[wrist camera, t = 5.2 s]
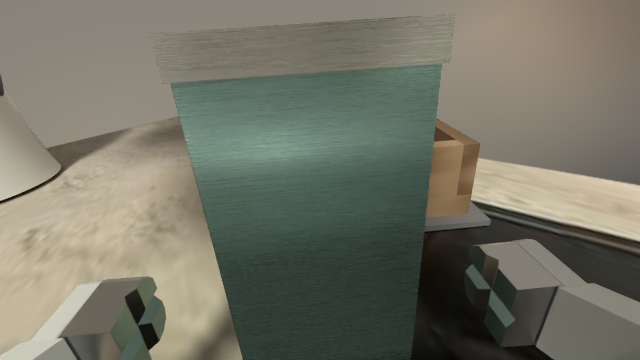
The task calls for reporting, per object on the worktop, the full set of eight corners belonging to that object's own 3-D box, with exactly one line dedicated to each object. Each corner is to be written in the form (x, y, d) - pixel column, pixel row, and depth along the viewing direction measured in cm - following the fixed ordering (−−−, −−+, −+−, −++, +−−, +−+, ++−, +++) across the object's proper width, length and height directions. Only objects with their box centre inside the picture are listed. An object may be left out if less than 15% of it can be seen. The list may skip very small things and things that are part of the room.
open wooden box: (336, 226, 20) (333, 155, 18) (324, 171, 28) (321, 118, 26) (468, 213, 21) (480, 143, 19) (418, 163, 29) (423, 110, 27)
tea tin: (258, 433, 10) (148, 33, 5) (269, 308, 15) (218, 34, 10) (409, 413, 11) (455, 13, 5) (373, 297, 15) (379, 23, 10)
